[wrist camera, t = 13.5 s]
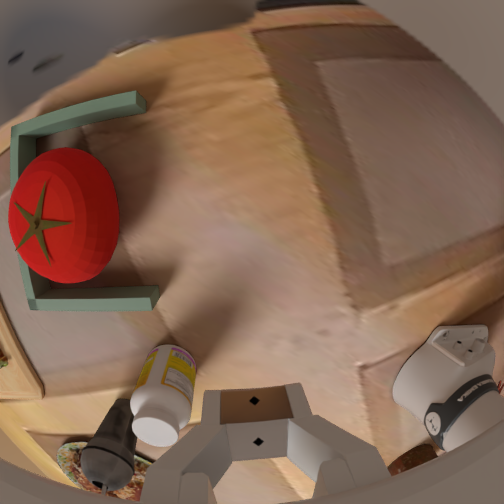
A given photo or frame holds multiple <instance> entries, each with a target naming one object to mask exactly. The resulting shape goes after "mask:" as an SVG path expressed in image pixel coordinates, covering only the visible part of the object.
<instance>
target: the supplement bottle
mask: <svg viewBox="0 0 504 504" xmlns="http://www.w3.org/2000/svg"><path fill="white" fill-rule="evenodd" d="M195 377H196V364H195V361H194V359H193V357H192V356H191V355H190V354H189V353H188V352H187V351H186V350H184V349H183V348H181V347H178V346H175V345H161V346H158V347H156V348H154V349H153V350H152V351H151V352H150V353H149V355H148V357H147V359H146V362H145V364H144V366H143V369H142V371H141V374H140V376H139V379H138V382H137V384H136V387H135V389H134V392H133V394H132V397H131V400H130V407H131V410H132V413H133V415H134V419H133V423H132V430H133V432H134V434H135V435H136V436H137V437H138V438H139V439H140V440H142V441H143V442H145V443H148V444H150V445H153V446H159V447H166V446H170V445H172V444H174V443H175V442H176V441H177V440H178V436H179V431H180V429H182V428H183V427H184V426H186V424H187V423H188V422H189V420H190V417H191V410H192V401H193V393H194V385H195Z"/></svg>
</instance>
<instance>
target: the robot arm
mask: <svg viewBox="0 0 504 504" xmlns="http://www.w3.org/2000/svg"><path fill="white" fill-rule="evenodd" d="M487 341H488V328H487V326H485V325H462V326H439V327H437V328H436V329H435V330H434V331H433V333H432V334H431V335H430V337H429V338H428V340H427V341H426V343H425V344H424V345H423V346H422V347H421V348H419V349H418V350H417V351H416V352H415V353H414V354H413V355H412V356H411V357H410V358H409V359H408V360H407V362H406V363H405V364H404V366H403V367H402V369H401V370H400V372H399V374H398V376H397V378H396V380H395V383H394V387H393V398H394V400H395V402H396V403H397V404H398V405H400V406H401V407H403V408H404V409H406V410H407V411H409V412H410V413H411V414H412V415H413V416H414V417H416V418H417V419H418V420H419V421H420V422H421V423H422V424H423V425H424V426H425V427H426V429H427V431H428V433H429V435H430V436H431V438H432V439H433V440H434V442H435V443H436V444H437V445H438V446H439V448H440V449H441V450H445V451H446V452H447V453H445V454H443V455H441V456H439V457H437V458H435V459H433V460H431V461H428V462H426V463H424V464H422V465H419V466H417V467H415V468H412V469H410V470H407V471H405V472H402V473H400V474H397V475H394V476H391V474H390V472H389V471H388V469H387V467H386V465H385V463H384V461H383V459H382V457H381V456H380V454H379V452H378V450H377V448H376V447H375V446H373V445H371V444H369V443H367V442H365V441H363V440H361V439H359V438H358V437H356V436H354V435H352V434H350V433H348V432H347V431H345V430H343V429H341V428H339V427H338V426H336V425H334V424H332V423H331V422H329V421H327V420H326V419H324V418H322V417H320V416H319V415H312V412H311V409H310V406H309V404H308V401H307V398H306V396H305V393H304V390H303V387H302V385H301V384H300V383H293V384H286V385H282V386H273V387H263V388H251V389H228V390H205V392H204V397H203V407H202V417H201V425H196V426H195V427H193V428H192V429H191V430H190V431H189V432H188V433H187V434H186V435H185V436H184V437H183V438H181V439H180V440H179V441H178V442H177V443H176V444H175V445H174V446H172V447H171V448H170V449H169V450H168V451H167V452H166V453H164V454H163V455H162V456H161V457H160V458H159V459H157V460H156V461H155V462H154V463H153V464H152V465H150V466H149V467H148V468H147V471H146V475H145V479H144V484H143V488H142V492H141V497H140V502H138V501H132V500H126V499H121V498H116V497H111V496H106V495H102V494H98V493H94V492H90V491H86V490H82V489H79V488H75V487H72V486H69V485H66V484H63V483H60V482H57V481H54V480H51V479H48V478H45V477H43V476H40V475H38V474H35V473H32V472H30V471H28V470H25V469H23V468H21V467H18V466H16V465H14V464H12V463H10V462H8V461H6V460H4V459H1V458H0V504H217V501H216V498H215V495H214V492H213V488H214V487H215V486H216V484H217V483H218V482H219V480H220V479H221V478H222V476H223V475H224V473H225V472H226V471H227V469H228V468H229V466H230V465H231V464H232V461H243V460H254V459H259V458H260V459H265V458H277V457H286V456H287V458H288V459H289V460H290V461H291V462H293V463H294V464H295V465H296V466H297V467H298V468H299V469H300V470H301V471H303V472H304V473H305V474H306V475H307V476H308V477H310V478H311V479H312V480H313V481H314V482H315V483H316V485H315V489H314V493H313V497H312V498H311V499H306V500H300V501H293V502H287V503H279V504H504V397H503V396H501V395H500V392H501V390H502V388H503V386H504V383H503V385H502V387H501V388H500V386H501V381H500V382H499V384H498V386H497V385H496V383H495V382H494V380H493V378H492V375H493V370H494V364H495V351H494V349H493V347H492V346H491V345H490V344H488V343H487Z"/></svg>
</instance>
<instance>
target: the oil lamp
mask: <svg viewBox="0 0 504 504" xmlns="http://www.w3.org/2000/svg"><path fill="white" fill-rule="evenodd" d="M437 457H438V456H437V454H436V453H435V451H434V450H433V447H432V445H430V444H424V445H421V446H418V447H416V448H413V449H411V450H410V451H408V452H406V453H404V454H403V455H402V456H400V457H399V458H397V459H396V460H395V461H394V462H393V463H392V464H391V465H390V466H389V467H388V468H387V469H388V471H389V472H390V474H391V476H394V475H397V474H400V473H402V472H405V471H407V470H410V469H412V468H415V467H417V466H419V465H422V464H424V463H426V462H428V461H431V460H433V459H435V458H437Z"/></svg>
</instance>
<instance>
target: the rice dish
mask: <svg viewBox="0 0 504 504" xmlns="http://www.w3.org/2000/svg"><path fill="white" fill-rule="evenodd" d="M86 445H87V443H86V442H73V443H66V444H64V445H63V446H61V447H60V448H59V450H58V454H57V458H58V459H57V461H58V463H59V466H60V468H61V469H62V470H63V472H64V473H65V474H66V476H67V477H68V478H69V479H70V480H71V481H73V482H74V483H75V484H76V485H77V486H79V487H80V488H81V489H82V490H86V491H90V492H94V493H98V494H101V492H102V489H100V488H98V487H96V486H94V485H93V484H92V483H90V482H89V481H88V480H87V478H86V477H85V475H84V474H83V471H82V468H81V455H82V449H83V448H84V447H86ZM136 459H137V460H140V463H139V462H138V461H136ZM143 462H144V463H143ZM145 463H146V464H147V465H146V464H145ZM152 464H153V463H151V462H150V461H148V460H145V459H143V458H142V457H139V456H137V455H135V454H134V470H135V473H134V475H133V477H132V479H131V481H130V482H129V483H128V484H127V485H126V486H125V487H124V488H122V489H120V490H115V491H106V494H105V495H106V496H111V497H116V498H121V499H126V500H132V501H138V502H140V497H141V492H142V488H143V484H144V479H145V475H146V471H147V468H148V467H149V466H150V465H152Z"/></svg>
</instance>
